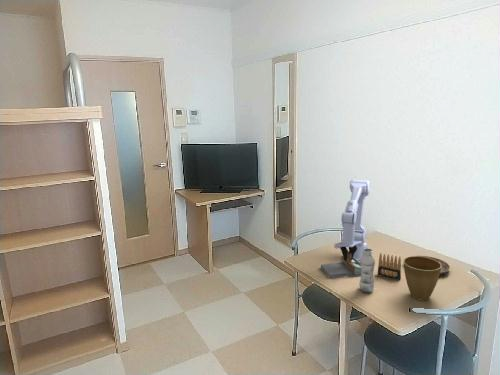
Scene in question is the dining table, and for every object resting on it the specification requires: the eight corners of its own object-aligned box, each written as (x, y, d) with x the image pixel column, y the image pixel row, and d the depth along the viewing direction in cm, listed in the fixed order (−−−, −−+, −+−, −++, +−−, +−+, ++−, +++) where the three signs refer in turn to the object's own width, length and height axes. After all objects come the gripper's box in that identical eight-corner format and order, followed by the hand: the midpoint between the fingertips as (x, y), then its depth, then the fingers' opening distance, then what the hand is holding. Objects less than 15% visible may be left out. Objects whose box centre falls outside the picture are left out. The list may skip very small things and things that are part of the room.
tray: (353, 263, 188) (353, 257, 187) (366, 274, 175) (366, 268, 174) (342, 264, 187) (342, 258, 186) (354, 276, 173) (354, 269, 173)
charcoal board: (342, 265, 186) (342, 261, 185) (353, 275, 174) (353, 271, 174) (320, 268, 184) (320, 264, 183) (329, 278, 172) (329, 274, 172)
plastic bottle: (366, 295, 156) (367, 254, 151) (356, 288, 162) (357, 248, 157) (377, 292, 158) (379, 251, 154) (366, 285, 164) (368, 246, 160)
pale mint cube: (356, 270, 179) (358, 264, 179) (360, 273, 175) (362, 268, 175) (349, 268, 178) (351, 263, 178) (353, 271, 174) (355, 266, 174)
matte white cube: (350, 264, 186) (352, 259, 186) (353, 267, 182) (355, 262, 182) (343, 262, 185) (345, 257, 185) (347, 265, 181) (349, 260, 181)
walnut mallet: (344, 260, 186) (344, 247, 184) (356, 271, 174) (356, 257, 172) (340, 261, 186) (340, 248, 184) (351, 272, 173) (351, 258, 171)
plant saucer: (407, 257, 192) (407, 252, 191) (450, 265, 182) (450, 259, 181) (401, 273, 175) (402, 267, 174) (448, 282, 164) (449, 276, 164)
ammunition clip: (400, 278, 169) (402, 256, 166) (400, 280, 168) (401, 257, 165) (378, 273, 175) (379, 251, 172) (377, 275, 174) (378, 253, 171)
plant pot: (445, 297, 152) (448, 263, 148) (427, 309, 144) (430, 273, 140) (412, 284, 164) (415, 252, 160) (394, 294, 155) (396, 261, 152)
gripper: (338, 239, 171) (338, 264, 174) (365, 236, 173) (364, 261, 176) (332, 234, 177) (332, 258, 180) (358, 231, 180) (358, 255, 183)
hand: (347, 259), depth 179 cm, fingers closed on walnut mallet, 2 cm apart
